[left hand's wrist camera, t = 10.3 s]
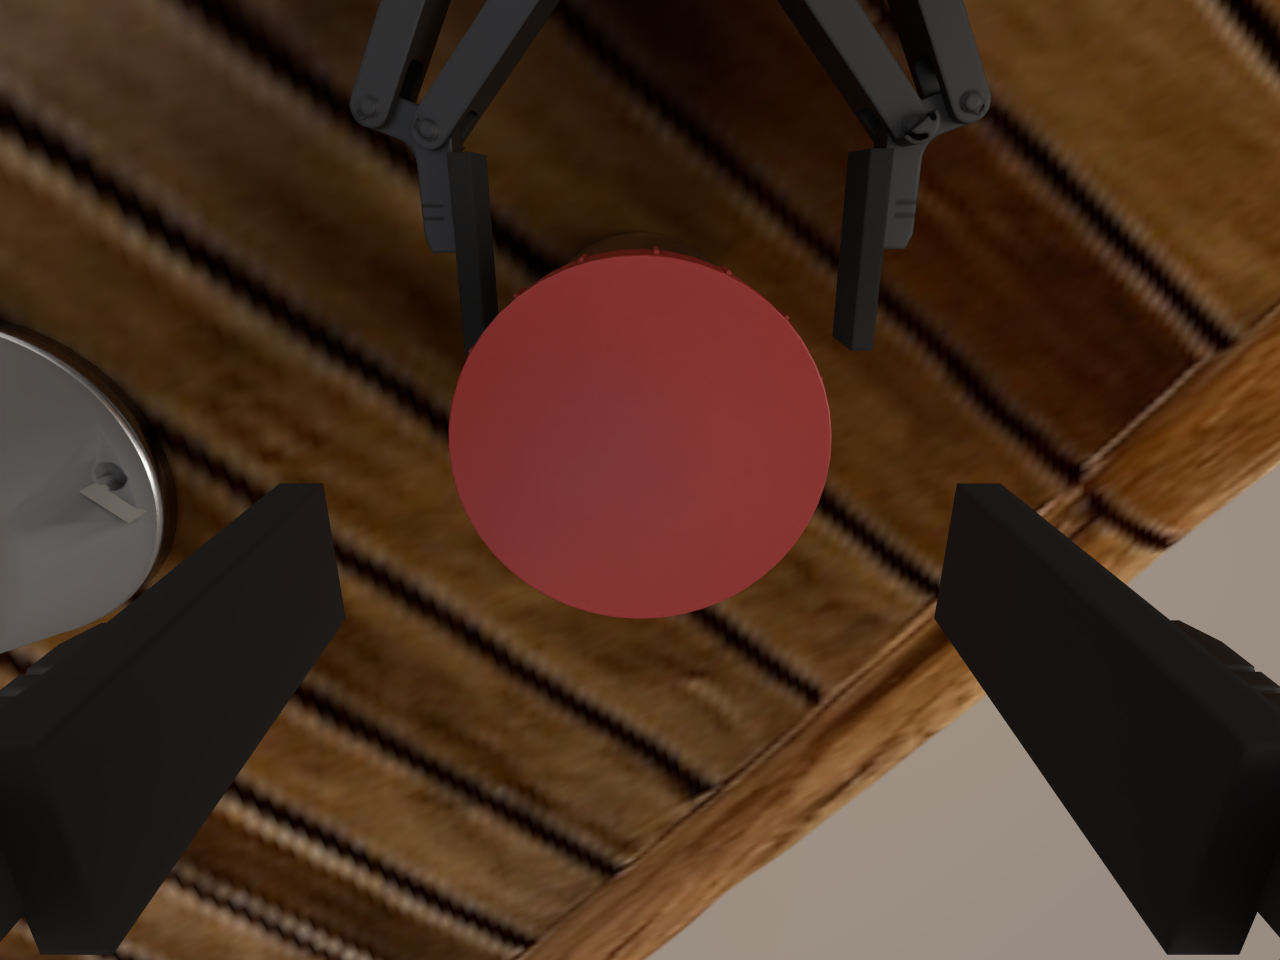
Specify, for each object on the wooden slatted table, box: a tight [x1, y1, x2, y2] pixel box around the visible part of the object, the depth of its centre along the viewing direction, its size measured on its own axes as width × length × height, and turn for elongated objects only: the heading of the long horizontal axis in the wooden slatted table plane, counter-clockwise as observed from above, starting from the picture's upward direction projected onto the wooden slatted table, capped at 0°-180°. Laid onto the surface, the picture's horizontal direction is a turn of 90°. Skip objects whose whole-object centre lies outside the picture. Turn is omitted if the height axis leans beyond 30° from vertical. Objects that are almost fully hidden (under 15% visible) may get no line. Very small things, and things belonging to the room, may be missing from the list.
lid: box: [449, 246, 832, 619], centre depth 19 cm, size 10×10×2 cm
